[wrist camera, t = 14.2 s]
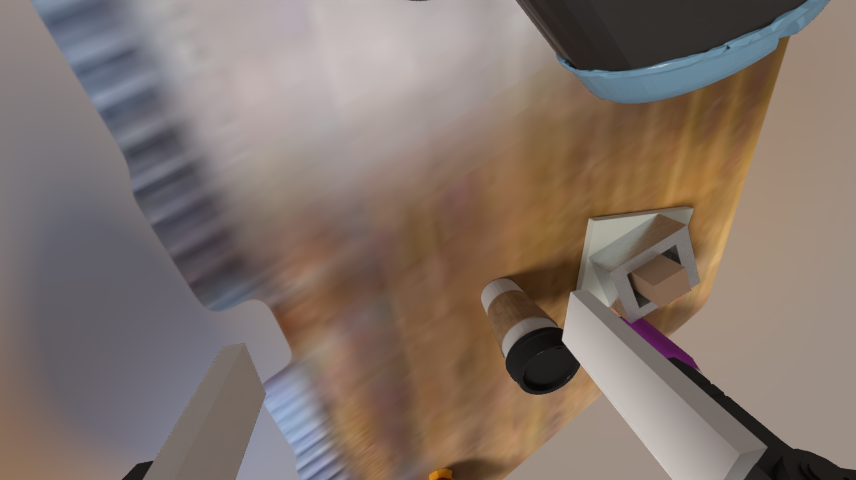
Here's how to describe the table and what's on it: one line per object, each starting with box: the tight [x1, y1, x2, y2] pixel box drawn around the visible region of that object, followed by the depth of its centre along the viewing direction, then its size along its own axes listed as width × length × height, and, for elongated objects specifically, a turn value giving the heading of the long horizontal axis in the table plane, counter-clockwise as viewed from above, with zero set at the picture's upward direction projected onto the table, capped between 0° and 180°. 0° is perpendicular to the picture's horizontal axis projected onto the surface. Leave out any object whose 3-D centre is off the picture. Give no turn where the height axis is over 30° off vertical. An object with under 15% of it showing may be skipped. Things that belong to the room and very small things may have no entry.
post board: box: [576, 206, 694, 308], centre depth 44 cm, size 16×16×8 cm
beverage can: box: [621, 317, 703, 375], centre depth 49 cm, size 8×8×12 cm
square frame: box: [588, 214, 700, 324], centre depth 45 cm, size 12×12×4 cm
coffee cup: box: [481, 278, 580, 395], centre depth 40 cm, size 8×8×15 cm
